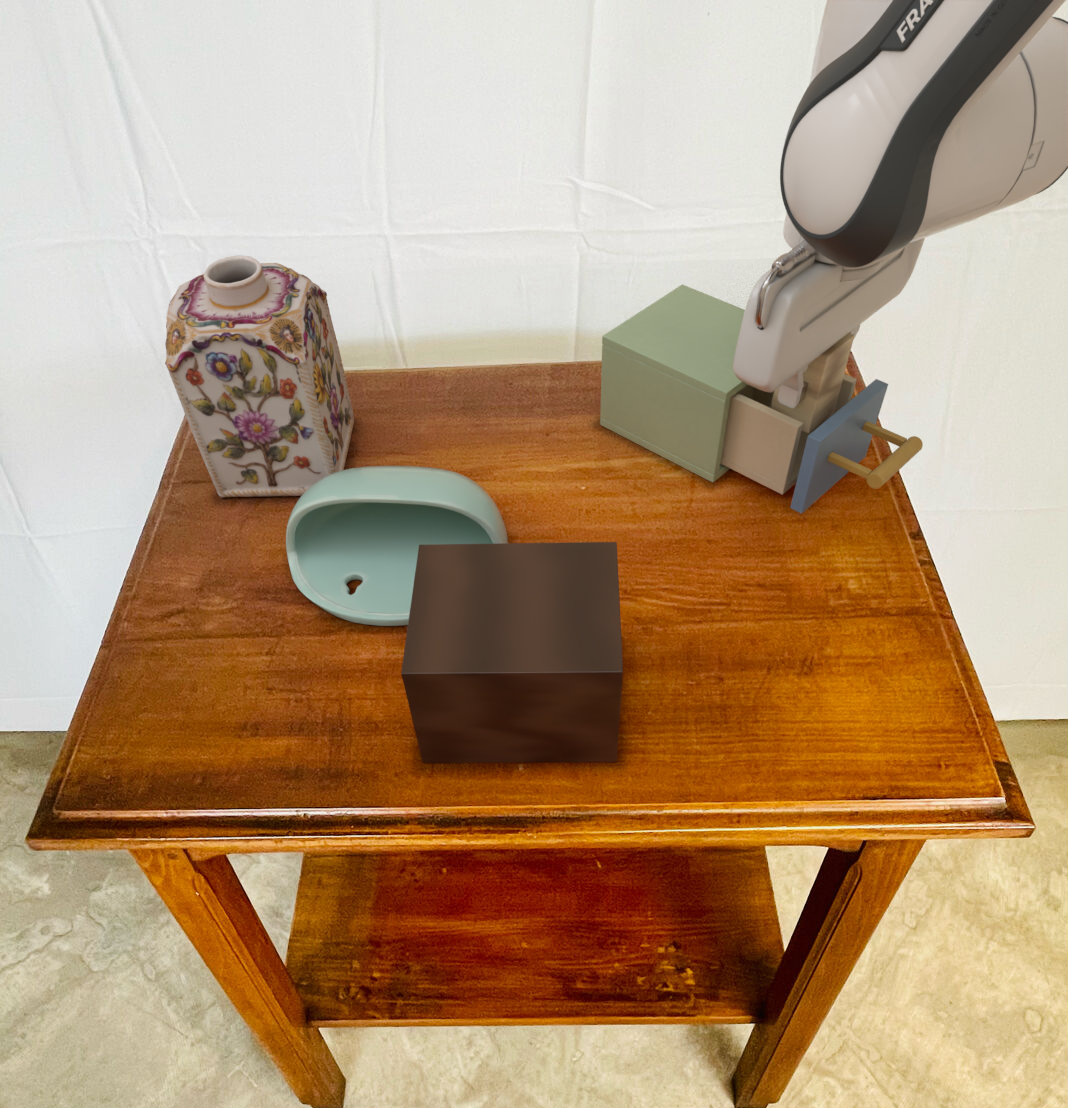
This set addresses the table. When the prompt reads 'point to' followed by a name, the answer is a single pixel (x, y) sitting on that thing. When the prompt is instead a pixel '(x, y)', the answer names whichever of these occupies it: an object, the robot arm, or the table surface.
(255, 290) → the decorative jar
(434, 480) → the planter
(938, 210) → the robot arm
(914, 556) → the table surface
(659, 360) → the cabinet
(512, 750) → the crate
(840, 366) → the block
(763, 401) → the drawer
